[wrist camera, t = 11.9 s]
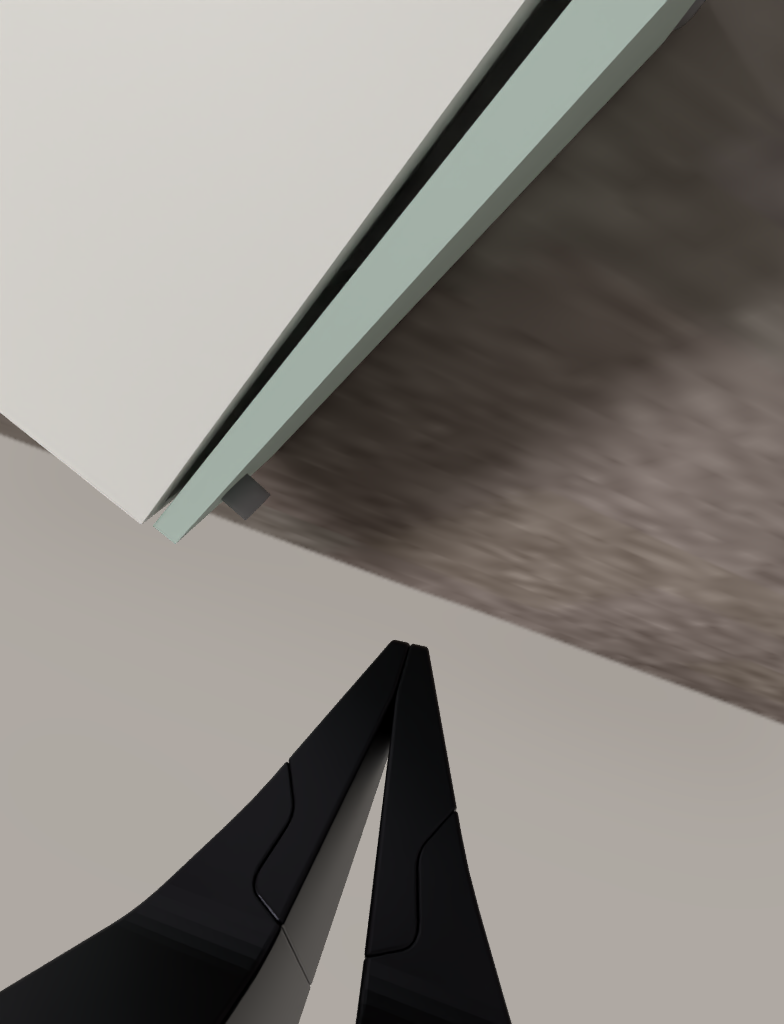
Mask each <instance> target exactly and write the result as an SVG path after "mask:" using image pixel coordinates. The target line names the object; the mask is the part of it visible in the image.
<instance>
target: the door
mask: <svg viewBox="0 0 784 1024" xmlns="http://www.w3.org/2000/svg"><path fill="white" fill-rule="evenodd" d="M704 2H705V0H572V1H571V2H570V3H569V5H568V6H567V7H566V8H565V10H564V11H563V12H562V13H561V15H560V16H559V17H558V19H557V20H556V21H555V22H554V24H553V25H552V26H551V27H550V29H549V30H548V31H547V32H546V34H545V35H544V36H543V37H542V39H541V40H540V41H539V42H538V44H537V45H536V46H535V47H534V49H533V50H532V51H531V52H530V54H529V55H528V56H527V57H526V59H525V60H524V61H523V62H522V64H521V65H520V66H519V67H518V69H517V70H516V71H515V72H514V74H513V75H512V76H511V77H510V79H509V80H508V81H507V82H506V84H505V85H504V86H503V87H502V89H501V90H500V91H499V93H498V94H497V95H496V96H495V98H494V99H493V100H492V101H491V103H490V104H489V105H488V106H487V108H486V109H485V110H484V111H483V113H482V114H481V115H480V116H479V118H478V119H477V120H476V121H475V123H474V124H473V125H472V126H471V128H470V129H469V130H468V131H467V133H466V134H465V135H464V136H463V138H462V139H461V140H460V141H459V143H458V144H457V145H456V146H455V148H454V149H453V150H452V151H451V153H450V154H449V155H448V156H447V158H446V159H445V160H444V161H443V163H442V164H441V165H440V166H439V168H438V169H437V170H436V172H435V173H434V174H433V175H432V177H431V178H430V179H429V180H428V182H427V183H426V184H425V185H424V187H423V188H422V189H421V190H420V192H419V193H418V194H417V195H416V197H415V198H414V199H413V200H412V202H411V203H410V204H409V205H408V207H407V208H406V209H405V210H404V212H403V213H402V214H401V215H400V217H399V218H398V219H397V220H396V222H395V223H394V224H393V225H392V227H391V228H390V229H389V230H388V232H387V233H386V234H385V235H384V237H383V238H382V239H381V240H380V242H379V243H378V244H377V245H376V247H375V248H374V249H373V251H372V252H371V253H370V254H369V256H368V257H367V258H366V259H365V261H364V262H363V263H362V264H361V266H360V267H359V268H358V269H357V271H356V272H355V273H354V274H353V276H352V277H351V278H350V279H349V281H348V282H347V283H346V284H345V286H344V287H343V288H342V289H341V291H340V292H339V293H338V294H337V296H336V297H335V298H334V299H333V301H332V302H331V303H330V304H329V306H328V307H327V308H326V309H325V311H324V312H323V313H322V314H321V316H320V317H319V318H318V319H317V321H316V322H315V323H314V325H313V326H312V327H311V328H310V330H309V331H308V332H307V333H306V335H305V336H304V337H303V338H302V340H301V341H300V342H299V343H298V345H297V346H296V347H295V348H294V350H293V351H292V352H291V353H290V355H289V356H288V357H287V358H286V360H285V361H284V362H283V363H282V365H281V366H280V367H279V368H278V370H277V371H276V372H275V373H274V375H273V376H272V377H271V378H270V380H269V381H268V382H267V383H266V385H265V386H264V387H263V388H262V390H261V391H260V392H259V393H258V395H257V396H256V397H255V398H254V400H253V401H252V402H251V404H250V405H249V406H248V407H247V409H246V410H245V411H244V412H243V414H242V415H241V416H240V417H239V419H238V420H237V421H236V422H235V424H234V425H233V426H232V427H231V429H230V430H229V431H228V432H227V434H226V435H225V436H224V437H223V439H222V440H221V441H220V442H219V444H218V445H217V446H216V447H215V449H214V450H213V451H212V452H211V454H210V455H209V456H208V457H207V459H206V460H205V461H204V462H203V464H202V465H201V466H200V467H199V469H198V470H197V471H196V472H195V474H194V475H193V476H192V478H191V479H190V480H189V481H188V483H187V484H186V485H185V486H184V488H183V489H182V490H181V491H180V493H179V494H178V495H177V496H176V498H175V499H174V500H173V501H172V503H171V504H170V505H169V507H168V508H167V509H166V510H165V511H164V513H163V514H162V515H161V516H160V518H159V519H158V520H157V521H156V523H155V524H154V525H153V527H155V528H156V529H157V530H158V531H160V532H161V533H162V534H163V535H165V536H166V537H167V538H168V539H170V540H171V541H172V542H173V543H175V544H176V543H177V542H178V541H179V540H180V539H181V538H182V537H184V535H186V534H187V533H188V532H189V531H190V530H191V529H192V528H193V527H195V526H196V525H197V524H198V523H199V522H200V521H201V520H202V519H204V518H205V517H206V516H207V515H208V514H209V513H210V512H211V511H212V510H213V509H215V508H216V507H217V506H218V505H219V504H220V503H221V502H222V501H224V502H225V503H226V504H227V505H228V506H229V507H231V508H232V509H233V510H234V511H235V512H236V513H237V514H239V515H240V516H241V517H242V518H243V519H244V520H246V519H247V518H248V517H250V516H251V515H252V514H253V513H254V512H255V511H256V510H257V509H258V508H259V507H260V506H261V505H262V504H263V502H264V501H265V500H266V499H267V498H268V497H269V496H270V494H269V493H268V492H267V491H266V490H265V489H264V488H263V487H262V486H260V485H259V484H258V483H257V482H256V481H255V480H254V479H253V478H252V477H251V475H252V474H253V473H254V472H255V471H257V470H258V469H259V468H260V467H261V466H262V465H263V464H264V463H265V462H266V461H268V460H269V459H270V458H271V457H272V456H273V455H274V454H275V453H276V452H277V451H278V450H279V448H280V447H281V446H282V445H283V444H284V443H285V442H286V441H287V440H288V439H289V438H290V437H291V436H292V435H293V434H294V433H295V432H296V431H297V429H298V428H299V427H300V426H301V425H302V424H303V423H304V422H305V421H306V420H307V419H308V418H309V417H310V416H311V415H312V414H313V413H314V411H315V410H316V409H317V408H318V407H319V406H320V405H321V404H322V403H323V402H324V401H325V400H326V399H327V398H328V397H329V396H330V395H331V394H332V392H333V391H334V390H335V389H336V388H337V387H338V386H339V385H340V384H341V383H342V382H343V381H344V380H345V379H346V378H347V377H348V376H349V374H350V373H351V372H352V371H353V370H354V369H355V368H356V367H357V366H358V365H359V364H360V363H361V362H362V361H363V360H364V359H365V358H366V356H367V355H368V354H369V353H370V352H371V351H372V350H373V349H374V348H375V347H376V346H377V345H378V344H379V343H380V342H381V341H382V340H383V339H384V337H385V336H386V335H387V334H388V333H389V332H390V331H391V330H392V329H393V328H394V327H395V326H396V325H397V324H398V323H399V322H400V321H401V319H402V318H403V317H404V316H405V315H406V314H407V313H408V312H409V311H410V310H411V309H412V308H413V307H414V306H415V305H416V304H417V303H418V302H419V300H420V299H421V298H422V297H423V296H424V295H425V294H426V293H427V292H428V291H429V290H430V289H431V288H432V287H433V286H434V285H435V284H436V282H437V281H438V280H439V279H440V278H441V277H442V276H443V275H444V274H445V273H446V272H447V271H448V270H449V269H450V268H451V267H452V266H453V264H454V263H455V262H456V261H457V260H458V259H459V258H460V257H461V256H462V255H463V254H464V253H465V252H466V251H467V250H468V249H469V248H470V247H471V245H472V244H473V243H474V242H475V241H476V240H477V239H478V238H479V237H480V236H481V235H482V234H483V233H484V232H485V231H486V230H487V229H488V227H489V226H490V225H491V224H492V223H493V222H494V221H495V220H496V219H497V218H498V217H499V216H500V215H501V214H502V213H503V212H504V211H505V210H506V208H507V207H508V206H509V205H510V204H511V203H512V202H513V201H514V200H515V199H516V198H517V197H518V196H519V195H520V194H521V193H522V192H523V190H524V189H525V188H526V187H527V186H528V185H529V184H530V183H531V182H532V181H533V180H534V179H535V178H536V177H537V176H538V175H539V174H540V172H541V171H542V170H543V169H544V168H545V167H546V166H547V165H548V164H549V163H550V162H551V161H552V160H553V159H554V158H555V157H556V156H557V155H558V153H559V152H560V151H561V150H562V149H563V148H564V147H565V146H566V145H567V144H568V143H569V142H570V141H571V140H572V139H573V138H574V137H575V135H576V134H577V133H578V132H579V131H580V130H581V129H582V128H583V127H584V126H585V125H586V124H587V123H588V122H589V121H590V120H591V119H592V118H593V116H594V115H595V114H596V113H597V112H598V111H599V110H600V109H601V108H602V107H603V106H604V105H605V104H606V103H607V102H608V101H609V100H610V98H611V97H612V96H613V95H614V94H615V93H616V92H617V91H618V90H619V89H620V88H621V87H622V86H623V85H624V84H625V83H626V82H627V80H628V79H629V78H630V77H631V76H632V75H633V74H634V73H635V72H636V71H637V70H638V69H639V68H640V67H641V66H642V65H643V64H644V63H645V61H646V60H647V59H648V58H649V57H650V56H651V55H652V54H653V53H654V52H655V51H656V50H657V49H658V48H659V47H660V46H661V45H662V43H663V42H664V41H665V40H666V38H667V37H668V36H669V34H670V33H671V32H672V31H674V30H676V29H678V28H680V27H682V26H683V25H684V24H686V23H687V22H688V21H689V20H690V19H691V18H692V17H693V15H694V14H695V13H696V12H697V10H698V9H699V8H700V7H701V5H702V4H703V3H704Z"/></svg>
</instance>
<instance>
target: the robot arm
mask: <svg viewBox="0 0 784 1024" xmlns="http://www.w3.org/2000/svg"><path fill="white" fill-rule="evenodd" d="M387 758H388V762H387V771H386V780H385V787H384V797H383V804H382V812H381V821H380V831H379V838H378V846H377V854H376V863H375V871H374V879H373V888H372V897H371V904H370V913H369V921H368V929H367V938H366V946H365V960H364V964H363V971H362V979H361V987H360V995H359V1003H358V1010H357V1018H356V1024H512V1023H511V1020H510V1016H509V1013H508V1010H507V1007H506V1003H505V999H504V996H503V992H502V989H501V985H500V982H499V978H498V975H497V971H496V968H495V964H494V961H493V957H492V954H491V950H490V947H489V943H488V940H487V936H486V932H485V929H484V925H483V922H482V919H481V915H480V911H479V908H478V904H477V900H476V896H475V892H474V889H473V885H472V881H471V877H470V873H469V869H468V864H467V859H466V854H465V849H464V844H463V840H462V835H461V829H460V823H459V817H458V813H457V812H456V808H457V807H456V802H455V796H454V790H453V785H452V779H451V774H450V768H449V762H448V757H447V751H446V746H445V740H444V734H443V728H442V723H441V717H440V712H439V706H438V701H437V695H436V689H435V683H434V678H433V672H432V667H431V661H430V655H429V650H428V648H427V647H425V646H420V645H415V644H412V645H411V646H410V645H409V643H407V642H402V641H397V640H393V641H391V642H390V643H389V644H388V646H387V647H386V648H385V649H384V650H383V651H382V653H381V654H380V655H379V656H378V657H377V658H376V659H375V661H374V662H373V663H372V664H371V665H370V666H369V667H368V669H367V670H366V671H365V672H364V673H363V674H362V675H361V677H360V678H359V679H358V680H357V681H356V682H355V684H354V685H353V686H352V687H351V688H350V689H349V690H348V692H347V693H346V694H345V695H344V696H343V697H342V699H341V700H340V701H339V702H338V703H337V704H336V705H335V707H334V708H333V709H332V710H331V711H330V712H329V714H328V715H327V716H326V717H325V718H324V719H323V720H322V721H321V723H320V724H319V725H318V726H317V727H316V728H315V729H314V731H313V732H312V733H311V734H310V735H309V736H308V738H307V739H306V740H305V741H304V742H303V743H302V744H301V746H300V747H299V748H298V749H297V750H296V751H295V753H294V754H293V755H292V756H291V757H290V758H289V763H288V762H286V763H285V764H284V765H283V766H282V767H281V768H280V769H279V771H278V772H277V773H276V774H275V775H274V776H273V778H272V779H271V780H270V781H269V782H268V783H267V784H266V785H265V786H264V787H263V788H262V790H261V791H260V792H259V793H258V794H257V795H256V796H255V797H254V798H253V799H252V800H251V801H250V802H249V803H248V804H247V805H246V806H245V807H244V808H243V809H242V810H241V811H240V812H239V813H238V814H237V815H236V816H235V817H234V818H233V819H232V820H231V821H230V822H229V823H228V824H227V825H226V826H225V827H224V828H223V829H222V830H221V831H220V832H219V833H218V834H216V835H215V837H213V838H212V839H211V840H210V841H209V842H208V843H207V844H206V845H205V846H204V847H203V848H202V849H201V850H200V851H198V852H197V853H196V854H195V855H194V856H193V857H192V858H191V859H190V860H189V861H188V862H187V863H186V864H185V865H184V866H182V867H181V868H180V869H179V871H177V872H176V873H175V874H174V875H173V876H172V877H171V878H170V879H169V880H168V881H167V882H165V883H164V884H163V885H162V886H161V887H160V888H159V889H158V890H157V891H156V892H154V893H153V894H152V895H151V896H150V897H148V898H147V899H146V900H145V901H144V902H142V903H141V904H140V905H139V906H137V907H136V908H135V909H133V910H132V911H131V912H129V913H128V914H126V915H125V916H123V917H122V918H120V919H119V920H117V921H116V922H114V923H113V924H111V925H110V926H108V927H106V928H105V929H103V930H101V931H100V932H98V933H96V934H95V935H93V936H91V937H90V938H88V939H86V940H85V941H83V942H81V943H80V944H78V945H77V946H75V947H73V948H71V949H70V950H68V951H67V952H65V953H64V954H61V955H60V956H58V957H57V958H55V959H53V960H52V961H50V962H48V963H47V964H45V965H43V966H42V967H40V968H39V969H37V970H35V971H33V972H32V973H30V974H28V975H27V976H25V977H24V978H22V979H20V980H19V981H17V982H15V983H14V984H12V985H10V986H9V987H7V988H5V989H4V990H2V991H1V992H0V1024H298V1023H299V1020H300V1017H301V1014H302V1011H303V1008H304V1005H305V1002H306V999H307V996H308V993H309V990H310V985H311V983H312V981H313V978H314V975H315V972H316V969H317V966H318V963H319V960H320V957H321V954H322V951H323V948H324V945H325V942H326V940H327V936H328V933H329V931H330V928H331V925H332V921H333V919H334V916H335V913H336V910H337V907H338V904H339V901H340V898H341V895H342V892H343V889H344V886H345V883H346V880H347V877H348V874H349V871H350V868H351V865H352V862H353V859H354V856H355V853H356V850H357V847H358V844H359V841H360V838H361V835H362V832H363V829H364V826H365V823H366V820H367V817H368V814H369V811H370V808H371V805H372V802H373V799H374V796H375V794H376V790H377V788H378V784H379V782H380V779H381V776H382V773H383V770H384V767H385V764H386V761H387Z"/></svg>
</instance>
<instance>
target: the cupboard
mask: <svg viewBox="0 0 784 1024" xmlns="http://www.w3.org/2000/svg"><path fill="white" fill-rule="evenodd" d="M571 1H572V0H0V413H1V414H3V415H4V416H5V417H6V418H8V419H9V420H10V421H11V422H13V423H14V424H15V425H17V426H18V427H19V428H20V429H22V430H23V431H24V432H25V433H27V434H28V435H29V436H30V437H32V438H33V439H34V440H35V441H37V442H38V443H39V444H40V445H42V446H43V447H44V448H45V449H47V450H48V451H49V452H50V453H52V454H53V455H54V456H55V457H57V458H58V459H59V460H60V461H62V462H63V463H65V464H66V465H67V466H68V467H69V468H71V469H72V470H73V471H74V472H76V473H77V474H78V475H79V476H81V477H82V478H83V479H84V480H86V481H87V482H88V483H90V484H91V485H92V486H93V487H94V488H96V489H97V490H98V491H99V492H101V493H102V494H103V495H105V496H106V497H107V498H108V499H110V500H111V501H112V502H113V503H115V504H116V505H117V506H118V507H120V508H121V509H122V510H123V511H125V512H126V513H127V514H128V515H130V516H131V517H132V518H134V519H135V520H136V521H137V522H138V523H140V524H143V523H144V522H145V521H146V520H148V519H149V518H150V517H152V516H153V515H154V514H156V513H157V512H158V511H159V510H161V509H162V508H163V507H165V506H166V505H167V504H168V503H170V502H171V501H172V500H174V499H175V498H176V496H177V495H178V494H179V493H180V491H181V490H182V489H183V488H184V486H185V485H186V484H187V483H188V481H189V480H190V479H191V478H192V476H193V475H194V474H195V472H196V471H197V470H198V469H199V467H200V466H201V465H202V464H203V462H204V461H205V460H206V459H207V457H208V456H209V455H210V454H211V452H212V451H213V450H214V449H215V447H216V446H217V445H218V444H219V442H220V441H221V440H222V439H223V437H224V436H225V435H226V434H227V432H228V431H229V430H230V429H231V427H232V426H233V425H234V424H235V422H236V421H237V420H238V419H239V417H240V416H241V415H242V414H243V412H244V411H245V410H246V409H247V407H248V406H249V405H250V404H251V402H252V401H253V400H254V398H255V397H256V396H257V395H258V393H259V392H260V391H261V390H262V388H263V387H264V386H265V385H266V383H267V382H268V381H269V380H270V378H271V377H272V376H273V375H274V373H275V372H276V371H277V370H278V368H279V367H280V366H281V365H282V363H283V362H284V361H285V360H286V358H287V357H288V356H289V355H290V353H291V352H292V351H293V350H294V348H295V347H296V346H297V345H298V343H299V342H300V341H301V340H302V338H303V337H304V336H305V335H306V333H307V332H308V331H309V330H310V328H311V327H312V326H313V325H314V323H315V322H316V321H317V319H318V318H319V317H320V316H321V314H322V313H323V312H324V311H325V309H326V308H327V307H328V306H329V304H330V303H331V302H332V301H333V299H334V298H335V297H336V296H337V294H338V293H339V292H340V291H341V289H342V288H343V287H344V286H345V284H346V283H347V282H348V281H349V279H350V278H351V277H352V276H353V274H354V273H355V272H356V271H357V269H358V268H359V267H360V266H361V264H362V263H363V262H364V261H365V259H366V258H367V257H368V256H369V254H370V253H371V252H372V251H373V249H374V248H375V247H376V245H377V244H378V243H379V242H380V240H381V239H382V238H383V237H384V235H385V234H386V233H387V232H388V230H389V229H390V228H391V227H392V225H393V224H394V223H395V222H396V220H397V219H398V218H399V217H400V215H401V214H402V213H403V212H404V210H405V209H406V208H407V207H408V205H409V204H410V203H411V202H412V200H413V199H414V198H415V197H416V195H417V194H418V193H419V192H420V190H421V189H422V188H423V187H424V185H425V184H426V183H427V182H428V180H429V179H430V178H431V177H432V175H433V174H434V173H435V172H436V170H437V169H438V168H439V166H440V165H441V164H442V163H443V161H444V160H445V159H446V158H447V156H448V155H449V154H450V153H451V151H452V150H453V149H454V148H455V146H456V145H457V144H458V143H459V141H460V140H461V139H462V138H463V136H464V135H465V134H466V133H467V131H468V130H469V129H470V128H471V126H472V125H473V124H474V123H475V121H476V120H477V119H478V118H479V116H480V115H481V114H482V113H483V111H484V110H485V109H486V108H487V106H488V105H489V104H490V103H491V101H492V100H493V99H494V98H495V96H496V95H497V94H498V93H499V91H500V90H501V89H502V87H503V86H504V85H505V84H506V82H507V81H508V80H509V79H510V77H511V76H512V75H513V74H514V72H515V71H516V70H517V69H518V67H519V66H520V65H521V64H522V62H523V61H524V60H525V59H526V57H527V56H528V55H529V54H530V52H531V51H532V50H533V49H534V47H535V46H536V45H537V44H538V42H539V41H540V40H541V39H542V37H543V36H544V35H545V34H546V32H547V31H548V30H549V29H550V27H551V26H552V25H553V24H554V22H555V21H556V20H557V19H558V17H559V16H560V15H561V13H562V12H563V11H564V10H565V8H566V7H567V6H568V5H569V3H570V2H571Z"/></svg>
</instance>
